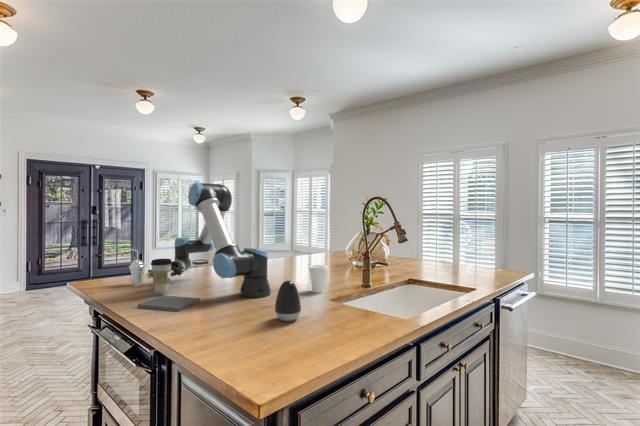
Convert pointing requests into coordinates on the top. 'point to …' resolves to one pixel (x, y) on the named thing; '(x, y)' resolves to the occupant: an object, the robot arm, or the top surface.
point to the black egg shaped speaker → (287, 302)
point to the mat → (169, 303)
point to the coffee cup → (161, 274)
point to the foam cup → (318, 277)
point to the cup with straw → (137, 270)
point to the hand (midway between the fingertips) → (157, 275)
